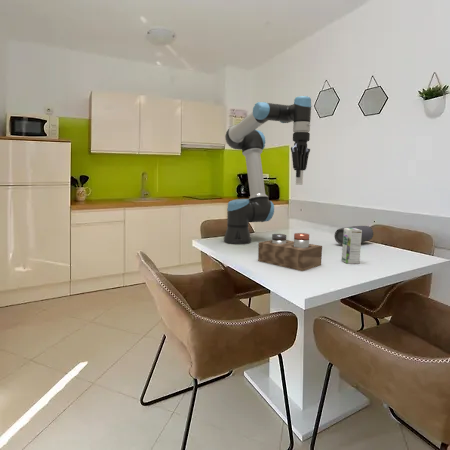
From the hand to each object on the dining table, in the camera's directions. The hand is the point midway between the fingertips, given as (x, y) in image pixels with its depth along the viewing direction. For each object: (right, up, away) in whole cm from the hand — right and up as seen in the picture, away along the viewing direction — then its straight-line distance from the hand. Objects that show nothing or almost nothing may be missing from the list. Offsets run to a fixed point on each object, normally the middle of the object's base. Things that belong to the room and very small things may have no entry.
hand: (299, 184), depth 160 cm
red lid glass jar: (-4, -32, -19) cm, 38 cm away
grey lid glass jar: (-11, -33, -12) cm, 37 cm away
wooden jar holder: (-8, -35, -15) cm, 39 cm away
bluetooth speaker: (+36, -30, +29) cm, 55 cm away
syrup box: (+19, -35, -12) cm, 42 cm away
